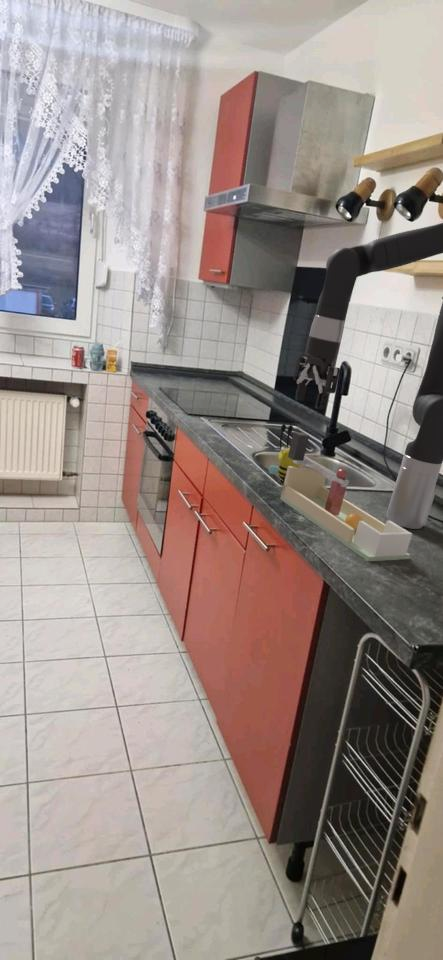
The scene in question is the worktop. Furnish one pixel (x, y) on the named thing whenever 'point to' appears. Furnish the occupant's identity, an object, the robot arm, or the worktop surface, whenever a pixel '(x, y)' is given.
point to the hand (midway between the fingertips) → (308, 404)
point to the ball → (353, 520)
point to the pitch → (343, 518)
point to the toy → (283, 457)
